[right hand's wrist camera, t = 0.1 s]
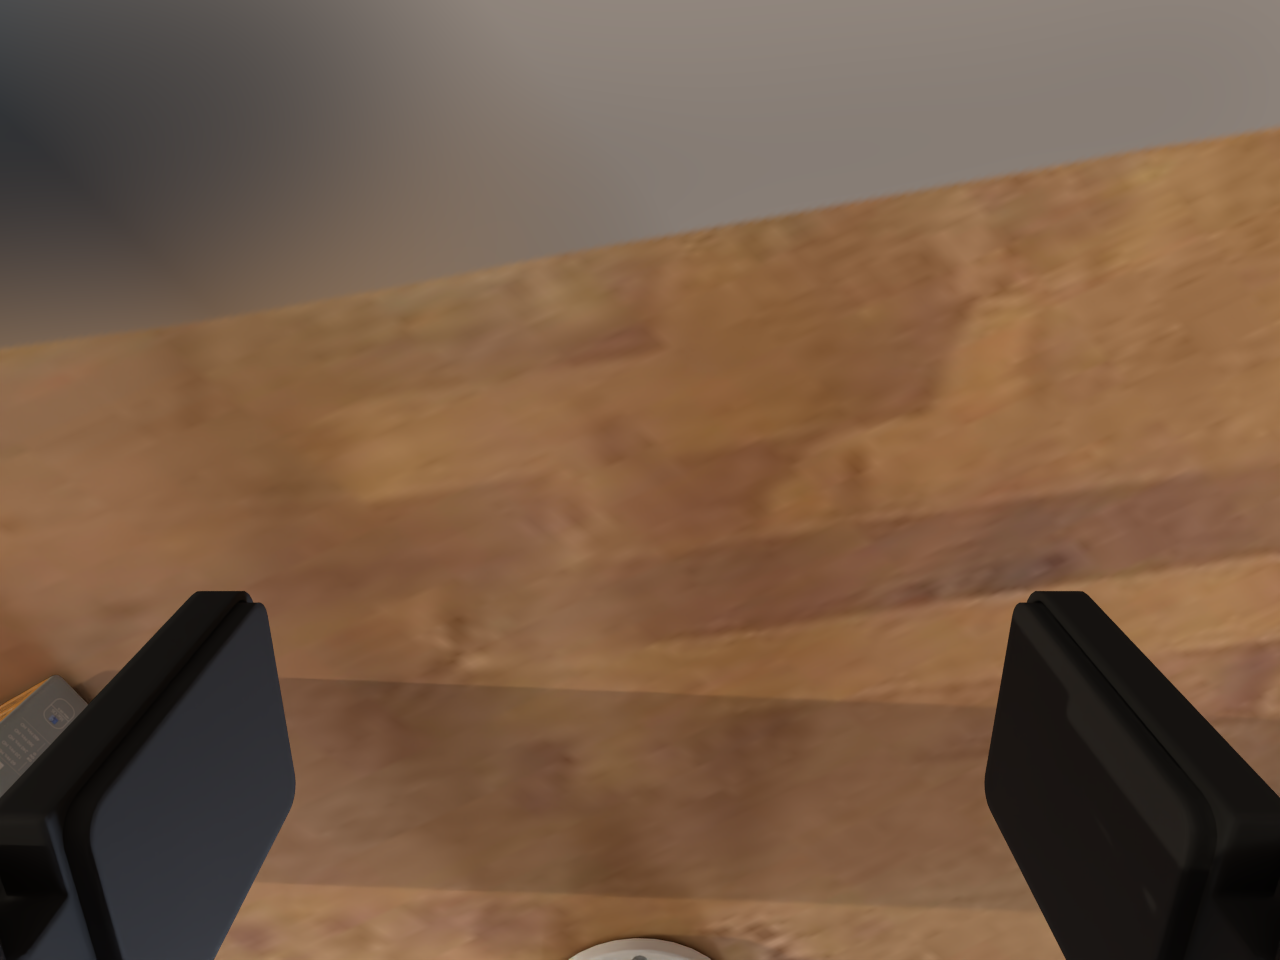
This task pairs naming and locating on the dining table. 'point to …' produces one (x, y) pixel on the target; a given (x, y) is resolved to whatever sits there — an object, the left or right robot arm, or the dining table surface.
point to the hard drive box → (34, 725)
